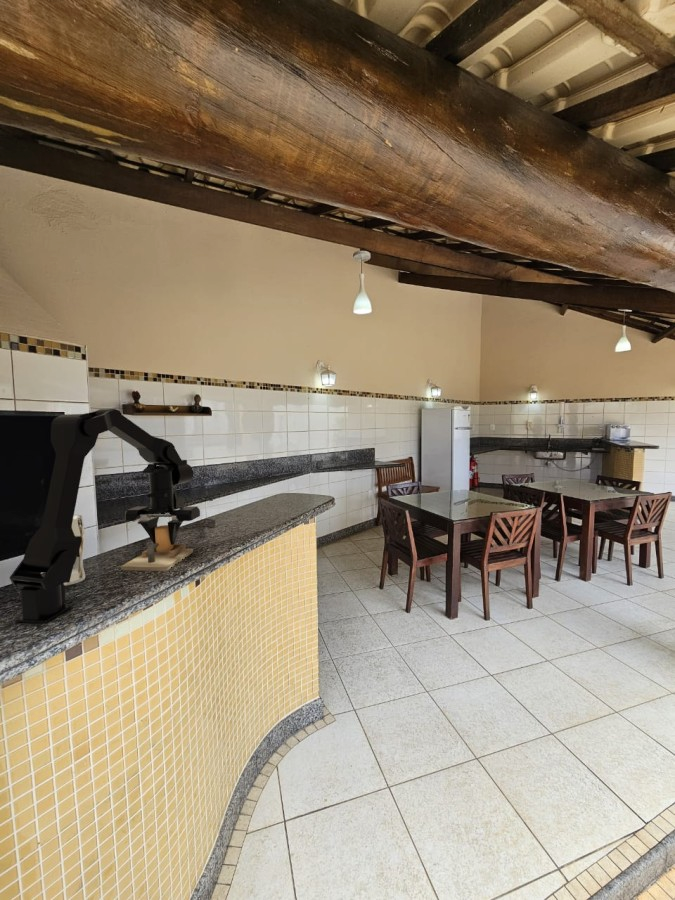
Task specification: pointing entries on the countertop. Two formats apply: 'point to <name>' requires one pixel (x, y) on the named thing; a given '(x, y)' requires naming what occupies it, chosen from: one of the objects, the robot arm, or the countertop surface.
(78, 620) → the countertop surface
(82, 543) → the silver tall piece
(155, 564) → the hook board
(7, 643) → the countertop surface
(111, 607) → the countertop surface
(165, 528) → the orange rounded capsule
